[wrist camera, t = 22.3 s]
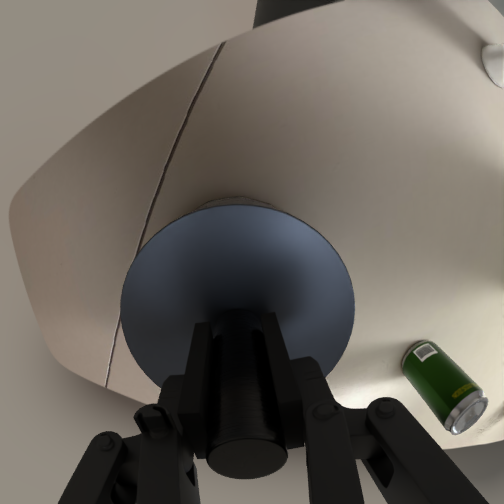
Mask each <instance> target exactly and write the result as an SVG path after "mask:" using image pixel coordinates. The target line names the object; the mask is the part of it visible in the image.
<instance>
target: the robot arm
mask: <svg viewBox="0 0 504 504" xmlns="http://www.w3.org/2000/svg"><path fill="white" fill-rule="evenodd" d="M260 316H261V324H262V331H263V336H264V341H265V346H266V351H267V356H268V361H269V366H270V371H271V376H272V381H273V386H274V391H275V396H276V401H277V405H278V410H279V415H280V420H281V425H282V427H283V432H284V437H285V441H286V446H287V450H288V449H293V448H298V447H304V443H305V446H306V464H307V472H308V486H309V500H310V504H364V499H363V494H362V489H361V485H360V479H359V474H358V470H357V465H356V461H355V459H361V460H362V462H363V464H364V465H365V467H366V469H367V470H368V472H369V473H370V475H371V477H372V479H373V480H374V482H375V484H376V485H377V487H378V489H379V490H380V492H381V493H382V495H383V497H384V498H385V500H386V502H387V503H388V504H489V503H488V502H487V501H486V500H485V498H484V497H483V496H482V495H481V494H480V493H479V491H478V490H477V489H476V488H475V487H474V486H473V484H472V483H471V482H470V481H469V480H468V479H467V477H466V476H465V475H464V474H463V473H462V472H461V471H460V469H459V468H458V467H457V466H456V465H455V463H454V462H453V461H452V460H451V459H450V458H449V457H448V455H447V454H446V453H445V452H444V451H443V450H442V448H441V447H440V446H439V445H438V444H437V443H436V442H435V440H434V439H433V438H432V437H431V436H430V435H429V434H428V432H427V431H426V430H425V429H424V428H423V427H422V426H421V424H420V423H419V422H418V421H417V420H416V419H415V418H414V417H413V415H412V414H411V413H410V412H409V411H408V410H407V409H406V407H405V406H404V405H403V404H402V403H401V402H400V401H398V400H397V399H394V398H391V397H382V398H378V399H376V400H374V401H372V402H371V403H370V404H369V406H368V407H367V408H364V409H351V408H346V407H343V406H341V404H339V403H338V402H336V401H335V399H334V397H333V395H332V393H331V390H330V388H329V386H328V384H327V381H326V379H325V377H324V375H323V372H322V371H321V368H320V366H319V363H318V361H316V360H315V359H314V358H312V357H311V356H307V357H302V358H297V359H291V360H290V358H289V355H288V352H287V349H286V345H285V342H284V339H283V336H282V333H281V329H280V326H279V323H278V320H277V317H276V313H275V312H271V313H265V314H260ZM213 346H214V339H213V334H212V330H211V325H210V321H209V322H201V323H195V326H194V331H193V335H192V340H191V345H190V350H189V354H188V359H187V364H186V369H185V374H182V375H169V377H168V378H167V379H166V380H165V381H164V382H163V385H162V388H161V392H160V395H159V399H158V403H157V404H149V405H145V406H144V407H142V408H140V409H139V410H138V411H137V412H136V413H135V415H134V420H135V421H136V423H137V425H138V427H139V429H140V431H141V434H139V435H136V436H132V437H128V438H121V436H120V435H119V434H117V433H115V432H112V431H106V432H102V433H100V434H98V435H96V436H95V437H94V438H93V439H92V441H91V443H90V444H89V446H88V448H87V450H86V451H85V453H84V455H83V457H82V459H81V460H80V462H79V464H78V466H77V468H76V470H75V472H74V473H73V476H72V477H71V479H70V481H69V483H68V485H67V487H66V489H65V490H64V492H63V494H62V496H61V498H60V500H59V502H58V504H200V496H199V488H198V479H197V469H196V466H195V464H194V462H193V457H194V453H195V455H196V457H197V459H206V447H207V429H208V413H209V398H210V384H211V371H212V358H213Z"/></svg>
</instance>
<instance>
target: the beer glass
mask: <svg viewBox="0 0 504 504" xmlns="http://www.w3.org/2000/svg"><path fill="white" fill-rule="evenodd" d="M481 55H482V61H483V65H484V67H485V70H486V72H487V73H488V75H489V77H490V78H491V80H492V81H493V82H494V83H495V84H496V85H497V86H499V87H501V88H504V43H502V44H496V45H486V46H484V47H483V49H482V53H481Z"/></svg>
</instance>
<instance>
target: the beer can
mask: <svg viewBox="0 0 504 504" xmlns="http://www.w3.org/2000/svg"><path fill="white" fill-rule="evenodd" d="M402 369H403V374H404V375H405V376H406V378H407V379H408V380H409V381H410V383H411V384H412V385H413V387H414V388H415V389H416V390H417V392H418V393H419V394H420V396H421V397H422V398H423V400H424V401H425V402H426V404H427V405H428V406H429V408H430V409H431V410H432V412H433V413H434V414H435V416H436V417H437V418H438V420H439V421H440V422H441V424H442V425H443V426H444V428H445V429H446V430H447V431H450V432H451V433H452V435H457V434H460V433H462V432H464V431H466V430H467V429H469V428H470V427H471V426H472V425H473V424H474V423H476V422H477V420H478V419H479V418H480V417H481V416H482V414H483V413H484V411H485V409H486V407H487V405H488V399H487V397H485V394H484V391H483V390H482V389H481V388H480V387H479V386H478V385H477V384H476V383H475V382H474V381H473V380H472V379H471V378H470V377H469V376H468V375H467V374H466V373H465V372H464V371H463V370H462V369H461V368H460V367H459V366H458V365H457V364H456V363H455V362H454V361H453V360H452V359H451V358H450V357H449V356H448V355H447V354H446V353H445V352H444V351H442V350H441V349H440V348H439V347H438V346H437V345H436V344H435V343H433V342H430V341H421V342H418V343H417V344H415V345H413V346H412V347H411V348H410V349H409V350H408V351H407V353H406V354H405V356H404V358H403V361H402Z"/></svg>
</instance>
